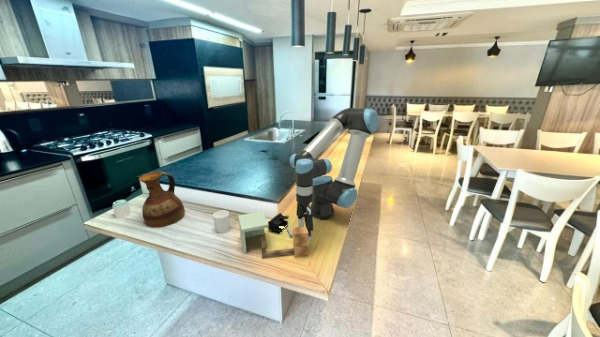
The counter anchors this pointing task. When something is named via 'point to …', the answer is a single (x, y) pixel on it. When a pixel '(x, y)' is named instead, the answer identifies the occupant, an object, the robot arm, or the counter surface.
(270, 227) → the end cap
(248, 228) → the cubby shelf
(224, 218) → the white cup
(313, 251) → the counter surface
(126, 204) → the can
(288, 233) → the stop strip
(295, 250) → the wooden desk organizer
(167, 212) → the ceramic pitcher
